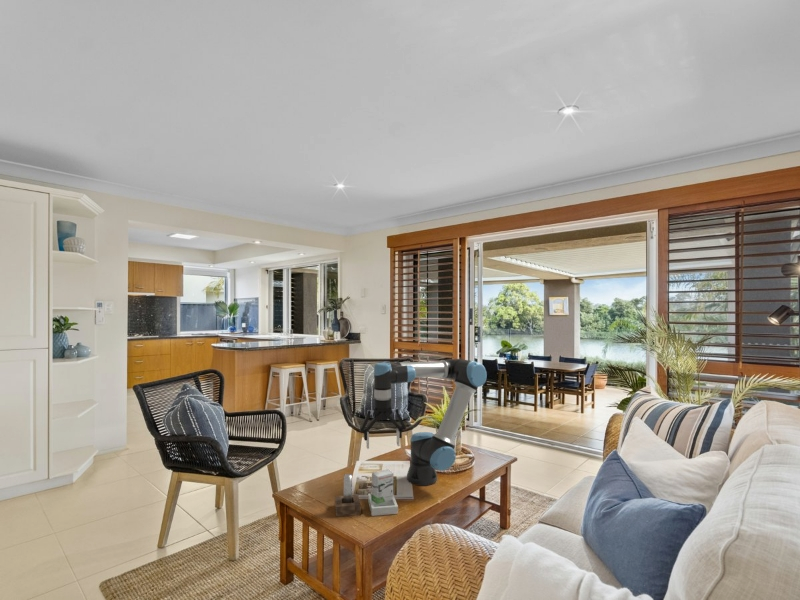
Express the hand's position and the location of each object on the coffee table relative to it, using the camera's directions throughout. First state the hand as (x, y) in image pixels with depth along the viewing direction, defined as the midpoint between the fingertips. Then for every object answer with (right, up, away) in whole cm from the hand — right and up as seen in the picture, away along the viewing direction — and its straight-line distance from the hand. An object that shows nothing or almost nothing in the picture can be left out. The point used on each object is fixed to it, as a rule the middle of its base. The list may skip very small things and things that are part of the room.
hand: (383, 446), depth 187 cm
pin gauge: (-15, -24, -6) cm, 29 cm away
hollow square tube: (-15, -25, -6) cm, 30 cm away
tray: (0, -25, -3) cm, 25 cm away
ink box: (0, -22, -3) cm, 22 cm away
